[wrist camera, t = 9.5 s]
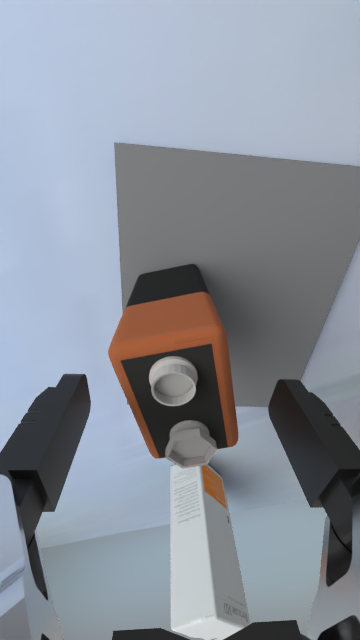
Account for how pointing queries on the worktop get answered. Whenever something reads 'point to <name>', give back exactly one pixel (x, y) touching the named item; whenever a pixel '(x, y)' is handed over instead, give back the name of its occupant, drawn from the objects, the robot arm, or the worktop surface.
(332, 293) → the rubber mat
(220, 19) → the worktop surface
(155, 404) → the battery
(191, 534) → the skincare box
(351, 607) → the robot arm
